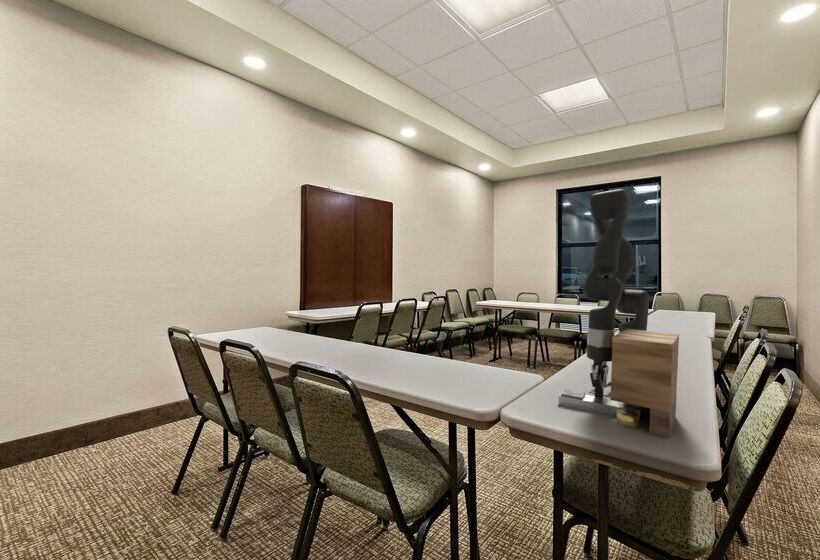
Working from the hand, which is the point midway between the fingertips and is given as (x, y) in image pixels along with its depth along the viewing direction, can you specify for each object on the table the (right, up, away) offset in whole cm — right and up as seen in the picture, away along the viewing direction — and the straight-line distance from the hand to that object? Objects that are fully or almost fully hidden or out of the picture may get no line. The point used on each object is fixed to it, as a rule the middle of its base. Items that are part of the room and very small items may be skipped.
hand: (598, 399), depth 117 cm
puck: (0, -2, -15) cm, 15 cm away
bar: (-2, -2, -4) cm, 5 cm away
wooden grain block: (+6, -2, -13) cm, 14 cm away
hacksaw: (+12, -2, +13) cm, 17 cm away
